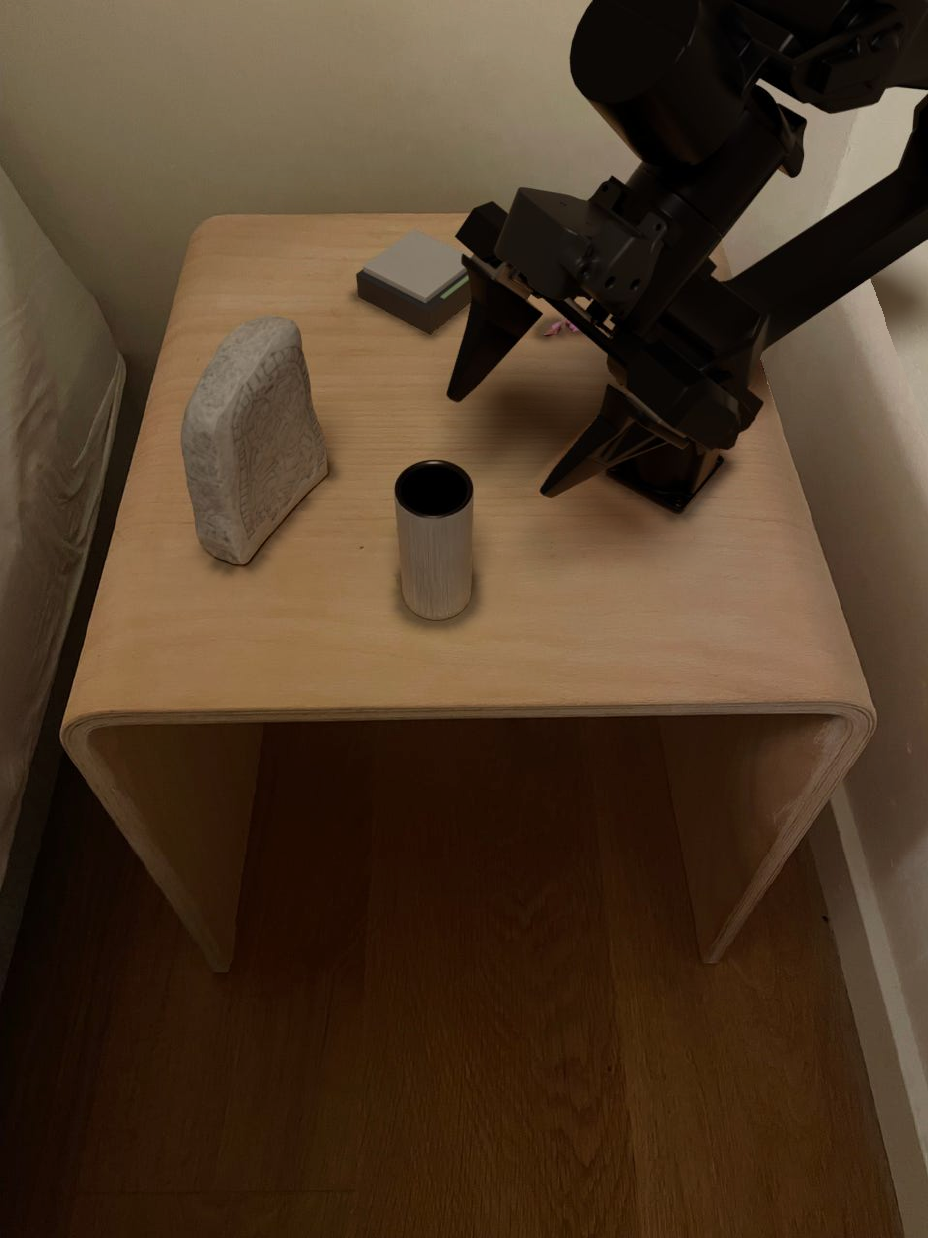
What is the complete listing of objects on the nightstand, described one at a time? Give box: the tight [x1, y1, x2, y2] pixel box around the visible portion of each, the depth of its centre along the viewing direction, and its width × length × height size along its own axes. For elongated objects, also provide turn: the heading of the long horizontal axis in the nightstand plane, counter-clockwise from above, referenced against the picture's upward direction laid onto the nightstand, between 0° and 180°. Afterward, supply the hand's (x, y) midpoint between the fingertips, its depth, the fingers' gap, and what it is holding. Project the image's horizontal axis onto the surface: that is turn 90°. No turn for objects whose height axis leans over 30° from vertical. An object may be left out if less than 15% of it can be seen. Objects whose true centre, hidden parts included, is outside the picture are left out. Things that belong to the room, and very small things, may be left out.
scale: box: [355, 228, 472, 335], centre depth 76 cm, size 8×8×3 cm
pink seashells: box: [543, 318, 581, 336], centre depth 75 cm, size 3×2×2 cm
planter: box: [393, 459, 475, 621], centre depth 56 cm, size 4×4×10 cm
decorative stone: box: [180, 315, 329, 565], centre depth 58 cm, size 11×6×15 cm, turn 153°
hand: (496, 445), depth 52 cm, fingers open, 9 cm apart
